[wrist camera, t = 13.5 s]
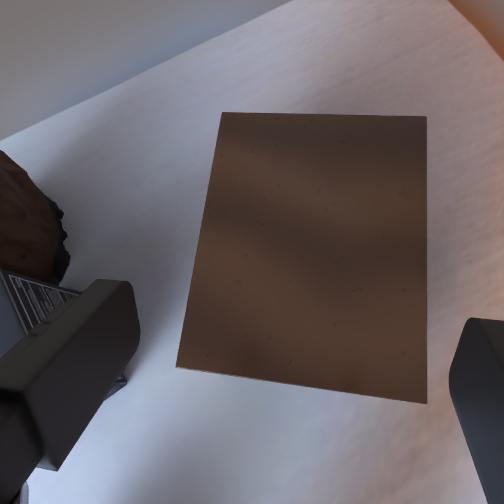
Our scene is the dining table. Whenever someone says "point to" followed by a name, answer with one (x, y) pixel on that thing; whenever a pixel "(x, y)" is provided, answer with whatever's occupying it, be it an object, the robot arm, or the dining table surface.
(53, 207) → the owl
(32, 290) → the small box
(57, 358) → the robot arm
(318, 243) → the lid
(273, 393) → the dining table surface
